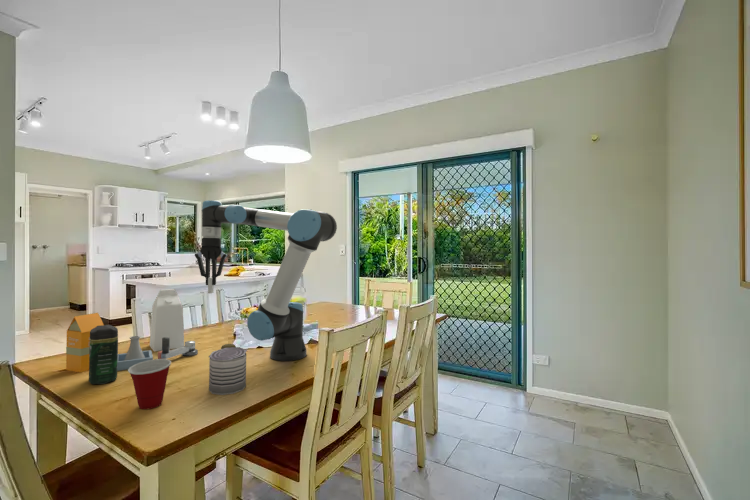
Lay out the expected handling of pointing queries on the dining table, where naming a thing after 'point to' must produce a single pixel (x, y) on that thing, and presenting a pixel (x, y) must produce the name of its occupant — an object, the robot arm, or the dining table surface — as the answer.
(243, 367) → the can
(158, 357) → the stop post
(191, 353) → the crank base
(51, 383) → the dining table surface
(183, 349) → the crank
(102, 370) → the coffee jar
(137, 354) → the flask
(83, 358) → the orange juice
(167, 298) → the milk
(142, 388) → the plastic cup
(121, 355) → the tray
